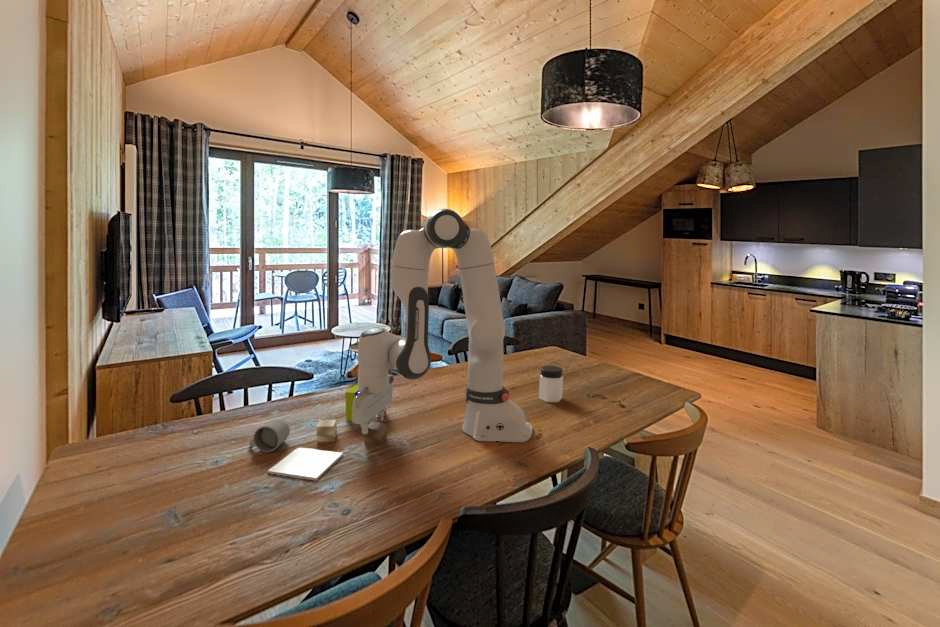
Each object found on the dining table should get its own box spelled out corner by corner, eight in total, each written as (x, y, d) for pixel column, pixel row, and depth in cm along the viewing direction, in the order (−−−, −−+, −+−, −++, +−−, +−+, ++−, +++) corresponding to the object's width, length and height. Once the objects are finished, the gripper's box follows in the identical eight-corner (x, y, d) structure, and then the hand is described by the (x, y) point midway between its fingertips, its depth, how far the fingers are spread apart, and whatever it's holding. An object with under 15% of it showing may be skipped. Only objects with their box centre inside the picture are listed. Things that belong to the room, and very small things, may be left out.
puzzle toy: (374, 423, 156) (373, 394, 154) (346, 420, 158) (345, 392, 156) (385, 412, 165) (385, 385, 164) (359, 409, 167) (358, 382, 166)
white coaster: (343, 455, 133) (342, 452, 133) (316, 480, 120) (316, 477, 120) (298, 449, 136) (298, 447, 136) (267, 473, 123) (267, 470, 123)
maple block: (336, 434, 147) (336, 419, 146) (334, 441, 142) (333, 426, 141) (320, 435, 146) (319, 420, 145) (317, 442, 141) (316, 426, 141)
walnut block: (386, 438, 145) (386, 423, 144) (380, 445, 140) (379, 430, 139) (371, 436, 146) (371, 421, 145) (364, 444, 141) (364, 428, 140)
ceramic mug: (292, 440, 142) (290, 416, 141) (279, 453, 134) (277, 427, 133) (258, 439, 143) (256, 415, 142) (243, 451, 135) (241, 426, 134)
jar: (543, 393, 187) (545, 364, 185) (564, 397, 183) (565, 367, 181) (536, 400, 179) (537, 369, 177) (557, 404, 175) (558, 373, 173)
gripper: (366, 395, 129) (366, 442, 132) (396, 374, 149) (395, 416, 151) (345, 392, 131) (346, 439, 133) (377, 372, 151) (377, 413, 153)
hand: (372, 426), depth 143 cm, fingers open, 8 cm apart
